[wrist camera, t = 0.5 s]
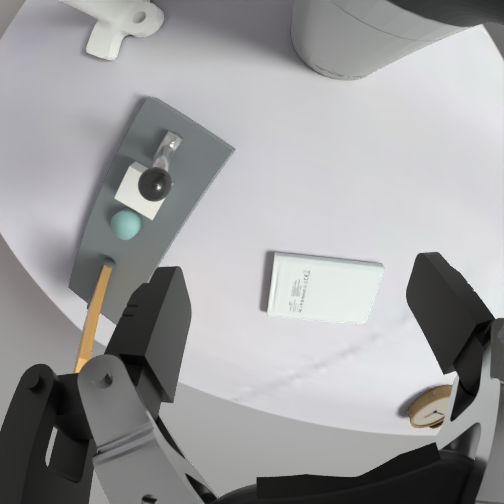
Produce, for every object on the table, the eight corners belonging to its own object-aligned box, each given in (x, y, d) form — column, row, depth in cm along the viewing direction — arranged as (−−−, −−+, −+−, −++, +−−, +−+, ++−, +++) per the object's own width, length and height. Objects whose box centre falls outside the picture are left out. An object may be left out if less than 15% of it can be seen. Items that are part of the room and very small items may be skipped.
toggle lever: (166, 127, 22) (148, 162, 14) (186, 138, 23) (180, 179, 15) (150, 154, 23) (126, 203, 15) (170, 164, 24) (157, 218, 16)
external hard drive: (362, 317, 33) (266, 309, 33) (380, 261, 29) (274, 249, 30) (365, 325, 31) (266, 318, 32) (385, 267, 28) (274, 256, 28)
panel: (156, 97, 23) (148, 96, 21) (235, 149, 25) (232, 150, 23) (75, 280, 34) (68, 287, 33) (127, 320, 36) (121, 328, 34)
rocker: (135, 161, 23) (129, 166, 22) (173, 183, 25) (170, 189, 23) (120, 191, 25) (114, 198, 23) (156, 212, 26) (152, 220, 25)
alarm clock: (442, 390, 35) (475, 408, 34) (436, 372, 39) (470, 392, 38) (398, 423, 39) (437, 437, 39) (396, 405, 44) (434, 421, 43)
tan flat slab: (105, 255, 29) (76, 355, 18) (116, 260, 30) (93, 361, 19) (88, 301, 33) (67, 390, 22) (98, 305, 33) (80, 394, 23)
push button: (124, 202, 26) (117, 206, 25) (146, 218, 27) (139, 223, 25) (114, 223, 27) (107, 229, 26) (135, 239, 28) (128, 245, 26)
